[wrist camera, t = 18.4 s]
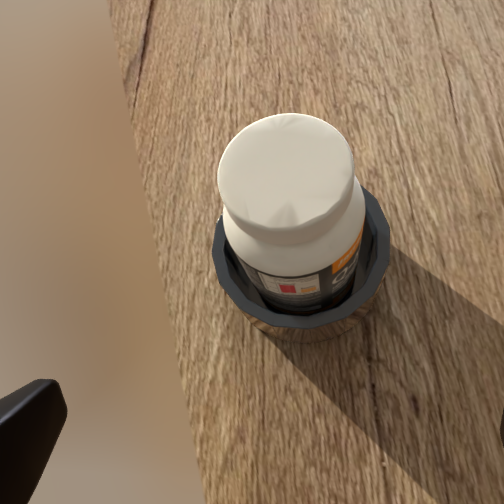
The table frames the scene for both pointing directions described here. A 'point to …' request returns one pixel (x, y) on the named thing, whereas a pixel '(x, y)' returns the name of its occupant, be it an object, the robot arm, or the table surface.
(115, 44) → the table surface
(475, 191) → the table surface
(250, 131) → the pill bottle
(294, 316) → the holder
